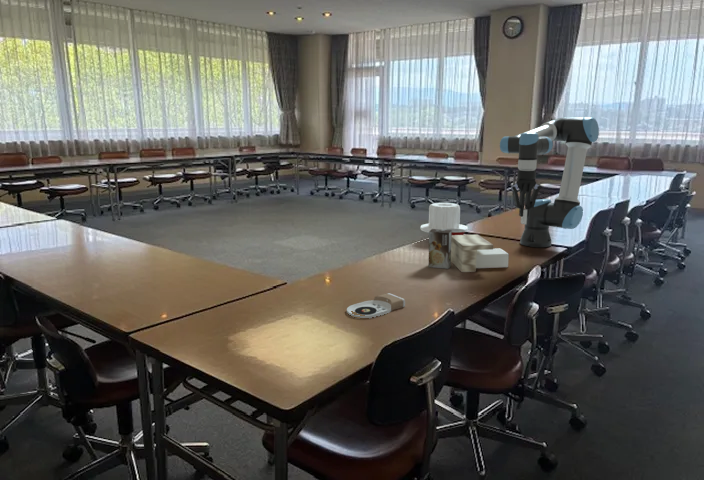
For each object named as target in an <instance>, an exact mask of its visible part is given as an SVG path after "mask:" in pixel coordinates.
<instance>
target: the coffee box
mask: <svg viewBox="0 0 704 480" xmlns="http://www.w3.org/2000/svg"><path fill="white" fill-rule="evenodd" d="M451 236H452V230H441V229H431V230H430V231H429V233H428V268H434V269H435V268H437V269H446V270H447V269H448V270H449V269H450V268H451V267H452V262H451Z"/></svg>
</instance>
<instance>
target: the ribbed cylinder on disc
mask: <svg viewBox="0 0 704 480" xmlns="http://www.w3.org/2000/svg"><path fill="white" fill-rule="evenodd" d="M460 218H461V206H460V205H459V204H457V203H452V202H433V203H431V204H429V206H428V223H425V224H424V223H423V224H421V225H420V228H419V229H420V230H421V231H422V232H424V233H428V234H429V231H430V230H431V229H441V230H443V229H464V230H465V232H464V233H466V232H467V231H468V230H469V229H468V226H466V225H464V224H460V222H461V219H460Z"/></svg>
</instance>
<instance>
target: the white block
mask: <svg viewBox="0 0 704 480" xmlns="http://www.w3.org/2000/svg"><path fill="white" fill-rule="evenodd" d="M508 267H509V253H508V252H507V251H505V250H504V249H502V248H499V247H498V248H497V247H496V248H494V247H493V249H490V250H477V256H476V269H489V268H490V269H494V268H496V269H498V268H508Z"/></svg>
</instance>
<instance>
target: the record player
mask: <svg viewBox="0 0 704 480" xmlns="http://www.w3.org/2000/svg"><path fill="white" fill-rule="evenodd" d="M404 307H406V300H405V298H403V297H401V296H397V295H395V294H392V293H390V292H388V293H384V294H380V295H376V296H374V298H373V299H372V300H365V301H360V302H358V303H354V304H352V305H351V304H350V305H349V306H348V307H347V308H346V314H347V313H348V314H349V315H351V316H354V317H360V318H369V319H373V318H372V317H374V318H377V317H376V316H378V317H381V316H384V314H385V315H387V313H388V314H390V313H391V312H392V311H394V310H397V309H402V308H404ZM351 311H353V312H356V313H357V314H362V315H365V316H360V315H354V314H352V312H351ZM348 314H347V315H348ZM349 315H348V316H349ZM380 315H381V316H380ZM351 316H350V317H351ZM354 317H353V318H354ZM360 318H359V319H360Z"/></svg>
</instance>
